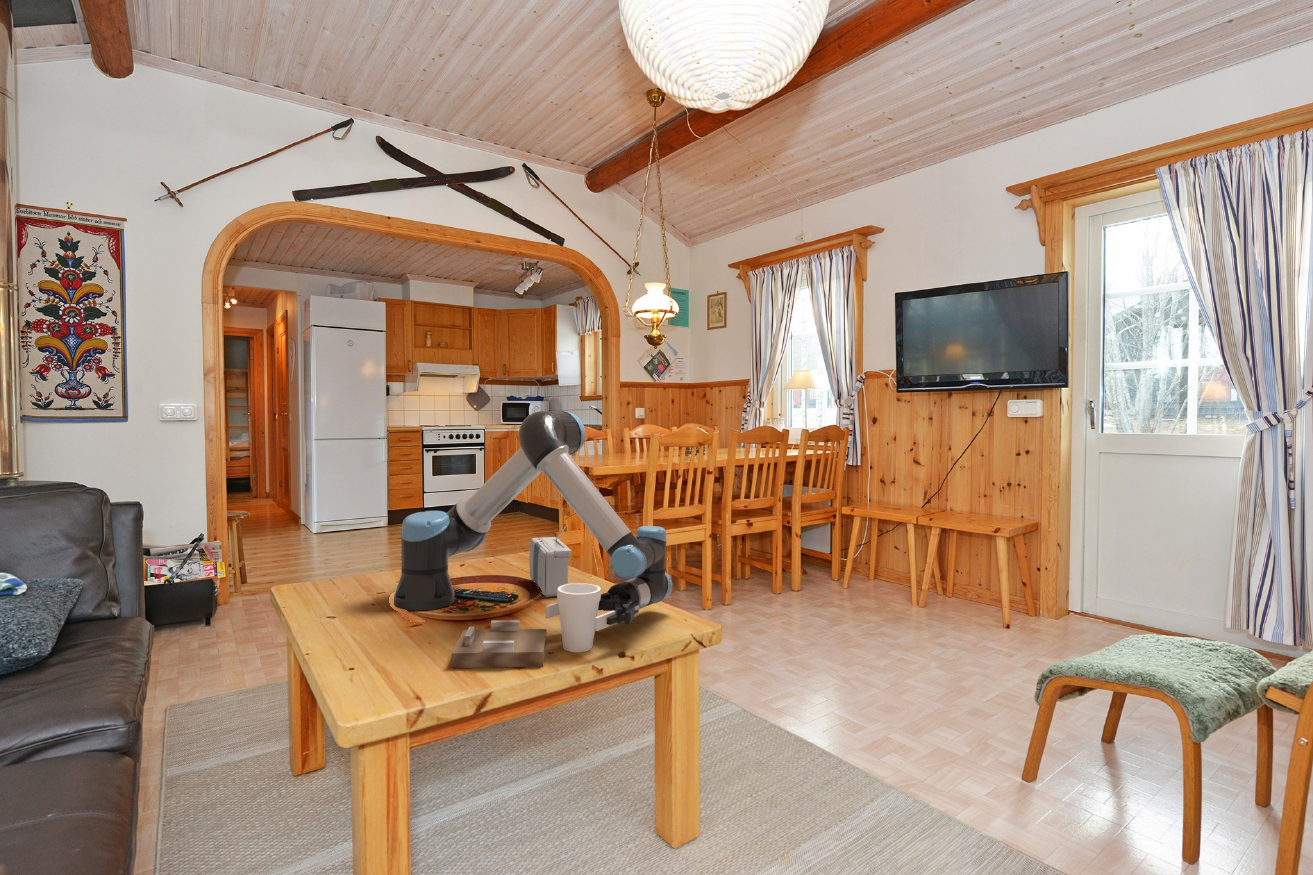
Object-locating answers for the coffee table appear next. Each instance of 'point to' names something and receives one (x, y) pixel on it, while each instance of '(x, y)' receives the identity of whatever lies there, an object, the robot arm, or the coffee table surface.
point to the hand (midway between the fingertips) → (570, 618)
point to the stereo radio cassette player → (549, 563)
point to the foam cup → (578, 614)
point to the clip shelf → (500, 647)
